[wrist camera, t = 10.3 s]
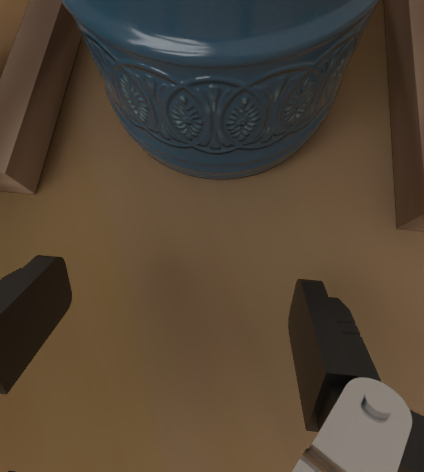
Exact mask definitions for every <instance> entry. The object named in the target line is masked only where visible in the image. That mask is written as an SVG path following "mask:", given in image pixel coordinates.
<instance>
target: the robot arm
mask: <svg viewBox="0 0 424 472" xmlns="http://www.w3.org/2000/svg"><path fill="white" fill-rule="evenodd" d="M71 300H72V291H71V287H70V282H69V278H68V273H67V269H66V264H65V261H64V259H63V258H61V257H54V256H43V255H38V256H36V257H34V258H33V259H32V260H31V261H30V262H29V263H28V264H27V265H26V266H24V267H23V268H20V269H18V270H16V271H14V272H12V273H10V274H9V275H7V276H5V277H3V278H2V279H1V280H0V394H6V395H7V393H8V392H9V391H10V389H11V388H12V386H13V385H14V384H15V382H16V381H17V380H18V378H19V377H20V375H21V374H22V373H23V371H24V370H25V369H26V367H27V366H28V364H29V363H30V362H31V360H32V359H33V357H34V356H35V355H36V353H37V352H38V351H39V349H40V348H41V346H42V345H43V344H44V342H45V341H46V339H47V338H48V337H49V335H50V334H51V333H52V331H53V330H54V328H55V327H56V326H57V324H58V323H59V322H60V320H61V319H62V317H63V316H64V315H65V313H66V312H67V310H68V309H69V307H70V304H71ZM288 329H289V336H290V342H291V348H292V353H293V359H294V365H295V370H296V376H297V382H298V387H299V393H300V399H301V404H302V410H303V416H304V421H305V427H306V431H315V432H319V433H318V435H317V436H316V438H315V440H314V441H313V443H312V445H311V446H310V448H309V449H306V450H305V452H304V453H303V454H302V456H301V458H300V459H299V461H298V462H297V464H296V466H295V468H294V469H293V471H292V472H424V416H422V415H419V414H417V413H415V412H413V411H411V410H410V409H409V408H408V406H407V404H406V403H405V401H404V400H403V399H402V398H401V397H400V396H399V395H398V394H397V393H396V392H395V391H394V390H393V389H392V388H390V387H389V386H387V385H386V384H384V383H382V382H381V380H380V378H379V375H378V373H377V371H376V369H375V366H374V364H373V362H372V360H371V357H370V355H369V353H368V351H367V348H366V346H365V344H364V342H363V339H362V337H360V333H359V330H358V328H357V326H355V321H354V319H353V317H352V315H351V312H350V310H349V309H348V308H347V307H346V306H345V305H344V304H343V303H342V302H341V301H340V300H339V299H338V298H332V297H328V295H327V292H326V289H325V287H324V284H323V282H322V281H316V280H304V279H298V280H297V282H296V286H295V290H294V295H293V299H292V304H291V308H290V313H289V321H288ZM8 472H14V471H8Z"/></svg>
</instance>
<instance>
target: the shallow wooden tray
mask: <svg viewBox="0 0 424 472" xmlns="http://www.w3.org/2000/svg"><path fill="white" fill-rule="evenodd" d="M384 14H385V31H386V49H387V66H388V84H389V102H390V119H391V137H392V155H393V172H394V190H395V207H396V225H397V229H404V230H415V231H424V0H384ZM81 37H82V35H81V33H80V31H79V28H78V26H77V24H76V22H75V20H74V18H73V16H72V14H71V13H70V12H69V11H68V10H67V9H66V8H65V6H64V5H63V4H62V2H61V1H60V0H29V3H28V6H27V8H26V11H25V14H24V16H23V19H22V22H21V24H20V27H19V30H18V33H17V35H16V38H15V41H14V43H13V46H12V49H11V51H10V54H9V57H8V59H7V62H6V65H5V68H4V70H3V73H2V76H1V78H0V191H5V192H16V193H26V194H35V192H36V189H37V185H38V182H39V179H40V175H41V172H42V169H43V165H44V162H45V158H46V155H47V152H48V148H49V145H50V141H51V138H52V135H53V131H54V128H55V125H56V121H57V118H58V114H59V111H60V108H61V104H62V101H63V98H64V94H65V91H66V87H67V84H68V81H69V77H70V74H71V70H72V67H73V64H74V60H75V57H76V54H77V50H78V47H79V43H80V40H81Z"/></svg>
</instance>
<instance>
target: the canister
mask: <svg viewBox="0 0 424 472" xmlns="http://www.w3.org/2000/svg"><path fill="white" fill-rule="evenodd" d="M60 1H61V2H62V4H63V5H64V6H65V8H66V9H67V10H68V11H69V12H70V13H71V14H72V16H73V18H74V20H75V22H76V24H77V26H78V28H79V31H80V33H81V35H82V37H83V39H84V41H85V43H86V45H87V47H88V49H89V51H90V53H91V55H92V58H93V60H94V62H95V64H96V66H97V68H98V70H99V72H100V74H101V76H102V78H103V80H104V83H105V88H106V91H107V95H108V98H109V100H110V103H111V105H112V107H113V109H114V111H115V112H116V115H117V117H118V119H119V120H120V122H121V124H122V125H123V127H124V128H125V129H126V131H127V132H128V133H129V135H130V136H131V137H132V138H133V139H134V140H135V141H136V142H137V143H138V144H139V145H140V146H141V147H142V148H143V149H144V150H145V151H146V152H147V153H148V154H149V155H150V156H152V157H153V158H154V159H155V160H157V161H158V162H160V163H162V164H163V165H165V166H167V167H169V168H171V169H173V170H175V171H178V172H181V173H184V174H187V175H190V176H194V177H200V178H207V179H235V178H241V177H247V176H251V175H255V174H258V173H261V172H263V171H266V170H268V169H271V168H273V167H275V166H277V165H278V164H280V163H282V162H283V161H285V160H286V159H288V158H289V157H291V156H292V155H293V154H294V153H295V152H297V151H298V150H299V149H300V148H301V147H302V146H303V144H304V143H305V142H306V141H307V140H308V139H309V138H310V137H311V136H312V135H313V134H314V133H315V132H316V130H317V129H318V128H319V126H320V125H321V124H322V122H323V121H324V119H325V117H326V115H327V113H328V111H329V109H330V108H331V106H332V104H333V102H334V100H335V97H336V95H337V92H338V89H339V85H340V81H341V77H342V75H343V73H344V71H345V69H346V67H347V65H348V62H349V60H350V58H351V56H352V54H353V52H354V50H355V48H356V46H357V44H358V42H359V40H360V38H361V36H362V34H363V31H364V29H365V27H366V25H367V23H368V21H369V19H370V17H371V15H372V13H373V11H374V9H375V7H376V5H377V3H378V2H379V1H380V0H60Z"/></svg>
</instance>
